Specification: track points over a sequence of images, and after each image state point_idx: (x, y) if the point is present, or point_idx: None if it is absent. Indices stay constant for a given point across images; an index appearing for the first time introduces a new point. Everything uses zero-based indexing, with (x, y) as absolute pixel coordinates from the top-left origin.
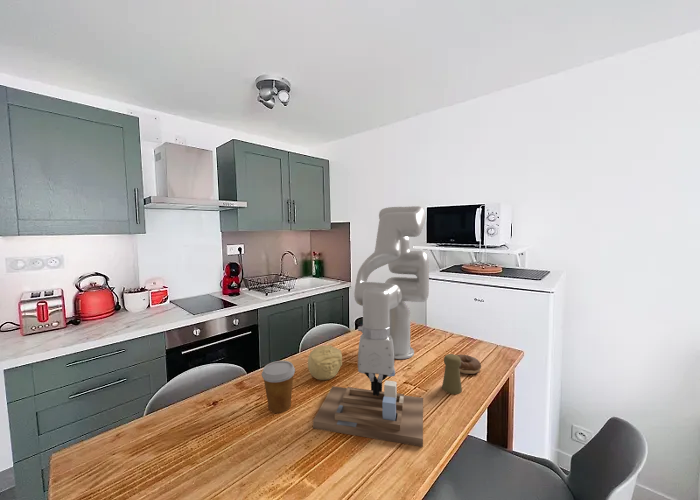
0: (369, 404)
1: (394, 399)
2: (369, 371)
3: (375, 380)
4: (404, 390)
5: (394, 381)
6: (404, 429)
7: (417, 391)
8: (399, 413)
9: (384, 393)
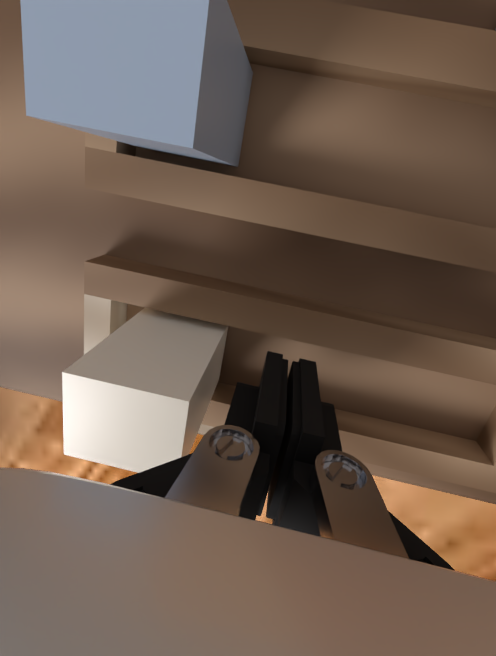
0: (343, 308)
1: (41, 68)
2: (454, 598)
3: (288, 476)
4: (120, 477)
5: (83, 457)
6: None
7: (54, 466)
8: (101, 152)
9: (210, 355)
